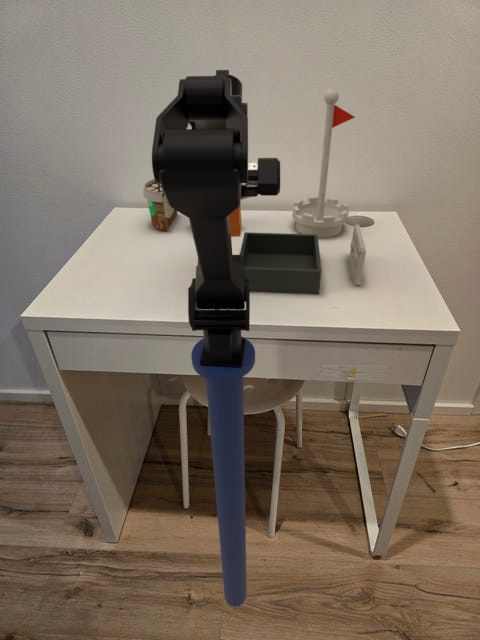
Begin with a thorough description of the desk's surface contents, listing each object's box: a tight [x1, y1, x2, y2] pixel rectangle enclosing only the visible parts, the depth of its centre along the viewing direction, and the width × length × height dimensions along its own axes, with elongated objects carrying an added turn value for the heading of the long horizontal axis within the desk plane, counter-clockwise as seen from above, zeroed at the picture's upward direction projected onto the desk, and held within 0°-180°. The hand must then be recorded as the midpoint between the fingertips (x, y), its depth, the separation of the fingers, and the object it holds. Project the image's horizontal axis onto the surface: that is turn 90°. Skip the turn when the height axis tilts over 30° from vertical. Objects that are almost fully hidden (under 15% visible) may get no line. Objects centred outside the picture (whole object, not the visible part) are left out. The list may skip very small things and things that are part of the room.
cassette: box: [348, 223, 367, 286], centre depth 86 cm, size 12×2×8 cm, turn 174°
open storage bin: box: [239, 231, 322, 295], centre depth 87 cm, size 15×15×5 cm
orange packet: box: [229, 205, 242, 238], centre depth 84 cm, size 5×4×13 cm
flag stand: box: [291, 88, 356, 239], centre depth 96 cm, size 13×13×30 cm
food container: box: [142, 178, 178, 233], centre depth 106 cm, size 12×6×10 cm, turn 172°
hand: (229, 197), depth 85 cm, fingers closed on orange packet, 4 cm apart
